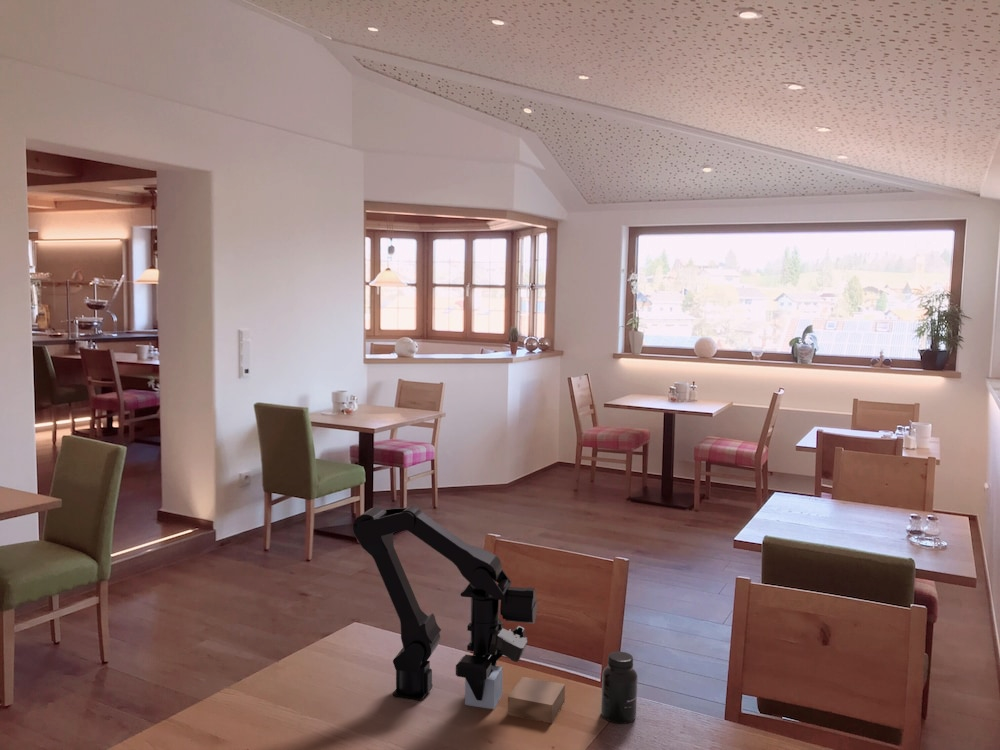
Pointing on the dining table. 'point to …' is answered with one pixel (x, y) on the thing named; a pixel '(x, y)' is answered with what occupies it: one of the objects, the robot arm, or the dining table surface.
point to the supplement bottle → (619, 688)
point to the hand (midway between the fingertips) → (483, 692)
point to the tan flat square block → (536, 699)
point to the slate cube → (487, 690)
